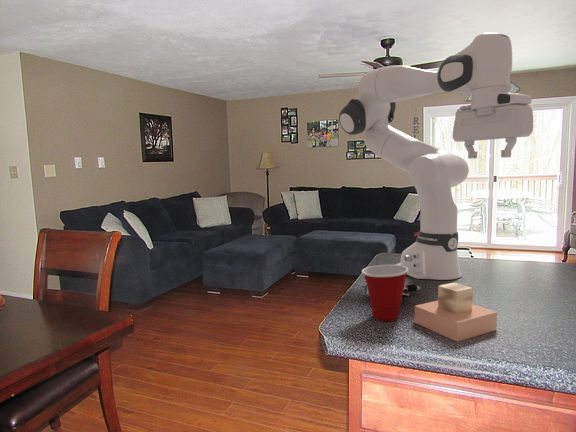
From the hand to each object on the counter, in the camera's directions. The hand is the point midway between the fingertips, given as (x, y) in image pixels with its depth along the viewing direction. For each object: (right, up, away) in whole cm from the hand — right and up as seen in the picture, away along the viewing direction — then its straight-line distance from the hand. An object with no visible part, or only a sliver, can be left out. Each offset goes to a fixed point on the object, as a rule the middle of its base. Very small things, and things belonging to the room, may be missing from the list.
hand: (488, 158), depth 104 cm
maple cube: (-13, -35, -12) cm, 39 cm away
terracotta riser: (-13, -39, -12) cm, 43 cm away
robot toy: (-22, -37, +10) cm, 44 cm away
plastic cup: (-27, -39, -5) cm, 48 cm away
